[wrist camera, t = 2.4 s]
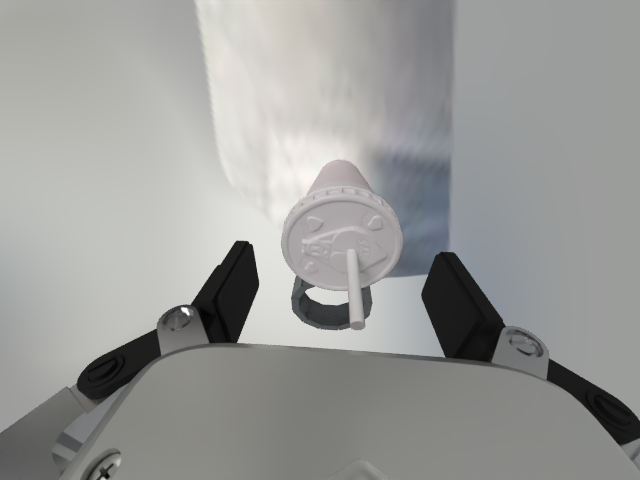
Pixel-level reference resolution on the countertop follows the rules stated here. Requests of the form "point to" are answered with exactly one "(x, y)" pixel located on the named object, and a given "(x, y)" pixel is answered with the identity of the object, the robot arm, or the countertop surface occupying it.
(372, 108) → the countertop surface
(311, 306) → the ring
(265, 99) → the countertop surface
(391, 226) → the smoothie
